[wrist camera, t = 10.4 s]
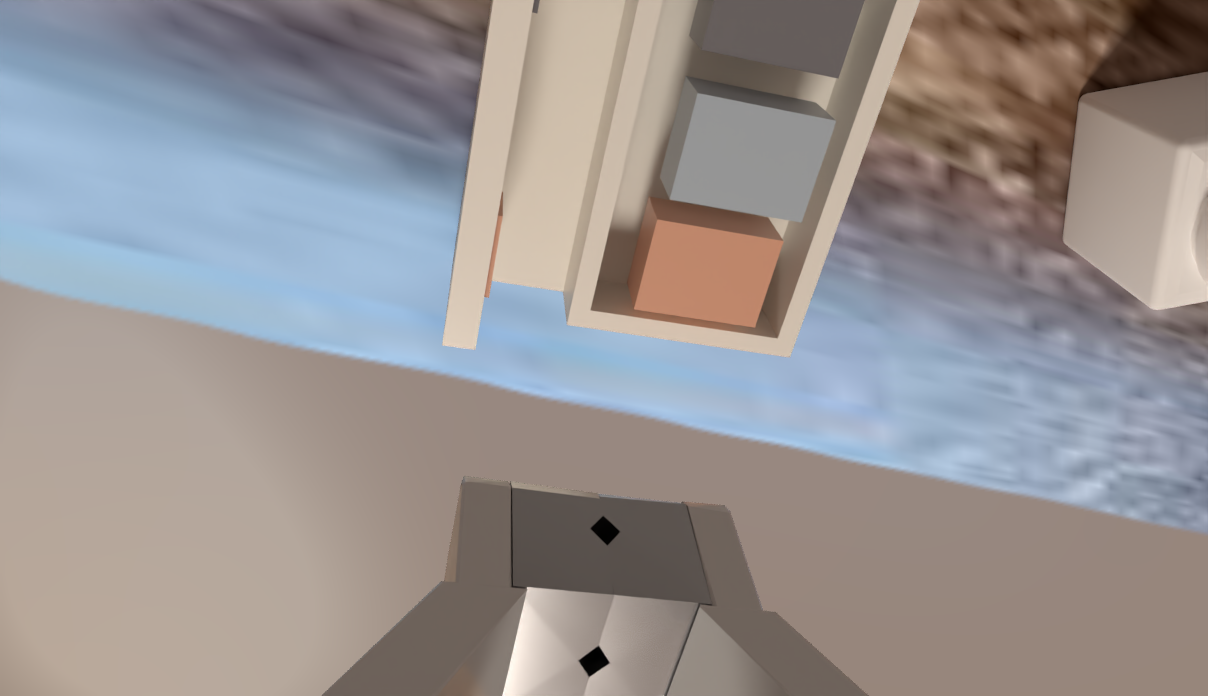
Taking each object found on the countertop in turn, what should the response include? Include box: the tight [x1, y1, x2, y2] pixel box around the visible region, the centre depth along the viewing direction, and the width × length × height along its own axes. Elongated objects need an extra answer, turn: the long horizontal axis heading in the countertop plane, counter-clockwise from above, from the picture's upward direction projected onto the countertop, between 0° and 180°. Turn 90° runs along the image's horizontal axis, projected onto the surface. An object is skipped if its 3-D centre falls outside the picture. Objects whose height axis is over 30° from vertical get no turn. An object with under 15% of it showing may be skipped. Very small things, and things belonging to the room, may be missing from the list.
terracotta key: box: [627, 197, 784, 328], centre depth 36 cm, size 5×4×2 cm
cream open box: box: [442, 0, 920, 357], centre depth 34 cm, size 14×17×8 cm
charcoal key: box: [689, 0, 865, 78], centre depth 31 cm, size 5×4×2 cm
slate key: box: [660, 76, 836, 223], centre depth 32 cm, size 5×4×2 cm
